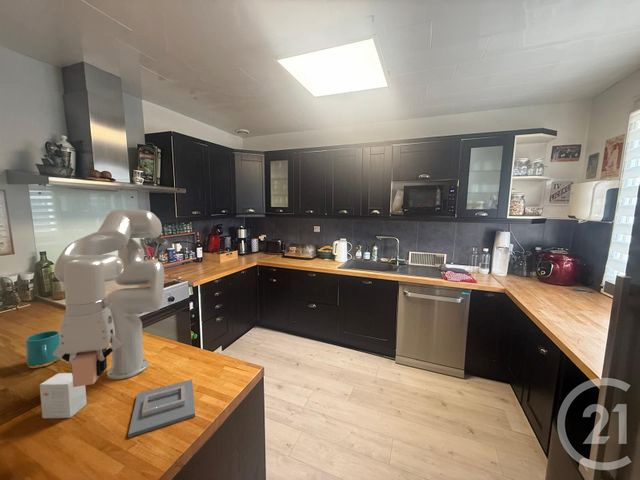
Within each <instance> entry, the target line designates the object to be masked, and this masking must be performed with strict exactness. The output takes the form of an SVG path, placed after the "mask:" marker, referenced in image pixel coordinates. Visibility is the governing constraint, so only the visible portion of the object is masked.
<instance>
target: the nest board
mask: <svg viewBox="0 0 640 480" xmlns="http://www.w3.org/2000/svg"><path fill="white" fill-rule="evenodd" d="M194 397H195V395H194V386H193V378H192V379H188V380H183V381H181V382H177V383H173V384H169V385H165V386H161V387H156V388H153V389H150V390H145V391H141V392H137V394H136V397H135V403H134V407H133V412H132V416H131V420H130V426H129V430H128V434H127V436H128V438H129V439H130V438H132V437H134V436H138V435H141V434H145V433H147V432H150V431H154V430H157V429H160V428H162V427H163V428H164V427H165V426H169V425H172V424H176V423H179V422H182V421H185V420H187V419H190V418H194V417H196V408H195V399H194Z"/></svg>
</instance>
